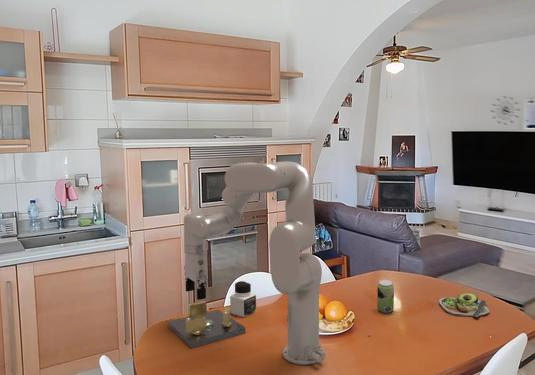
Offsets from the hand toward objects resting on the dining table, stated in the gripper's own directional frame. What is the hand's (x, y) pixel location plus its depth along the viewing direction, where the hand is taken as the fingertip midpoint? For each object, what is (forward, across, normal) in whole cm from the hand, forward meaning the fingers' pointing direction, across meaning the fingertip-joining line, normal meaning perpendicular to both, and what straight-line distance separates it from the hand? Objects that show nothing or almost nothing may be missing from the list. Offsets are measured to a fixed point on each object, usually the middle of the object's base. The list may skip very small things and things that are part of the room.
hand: (195, 294), depth 165 cm
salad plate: (+9, -47, -91) cm, 103 cm away
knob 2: (+8, -13, -6) cm, 16 cm away
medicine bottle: (+11, -2, -19) cm, 22 cm away
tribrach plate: (+10, -8, 0) cm, 13 cm away
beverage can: (+10, -32, -64) cm, 72 cm away
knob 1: (+8, -13, +6) cm, 16 cm away
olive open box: (+8, -1, 0) cm, 8 cm away
